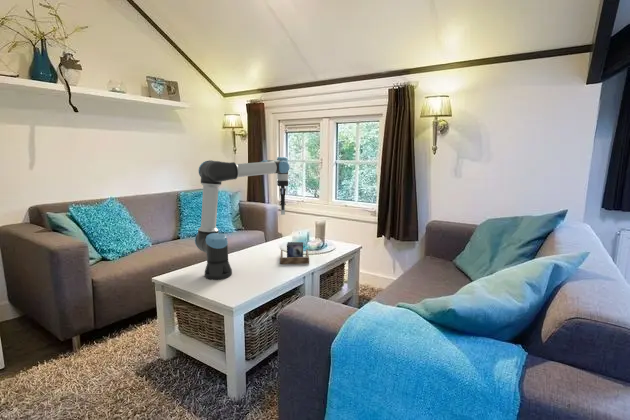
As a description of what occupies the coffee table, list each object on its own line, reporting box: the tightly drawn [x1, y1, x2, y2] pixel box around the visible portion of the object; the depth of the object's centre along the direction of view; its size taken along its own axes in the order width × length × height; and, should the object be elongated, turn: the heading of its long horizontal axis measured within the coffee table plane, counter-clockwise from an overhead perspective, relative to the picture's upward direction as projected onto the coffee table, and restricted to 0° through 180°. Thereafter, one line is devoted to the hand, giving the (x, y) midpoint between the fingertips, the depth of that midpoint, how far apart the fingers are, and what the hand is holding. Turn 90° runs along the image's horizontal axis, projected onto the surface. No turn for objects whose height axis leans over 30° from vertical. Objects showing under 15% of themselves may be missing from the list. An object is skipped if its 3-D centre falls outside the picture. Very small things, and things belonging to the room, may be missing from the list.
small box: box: [286, 241, 304, 257], centre depth 224 cm, size 11×6×10 cm, turn 89°
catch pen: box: [279, 248, 310, 265], centre depth 222 cm, size 18×18×4 cm
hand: (282, 214), depth 234 cm, fingers closed
